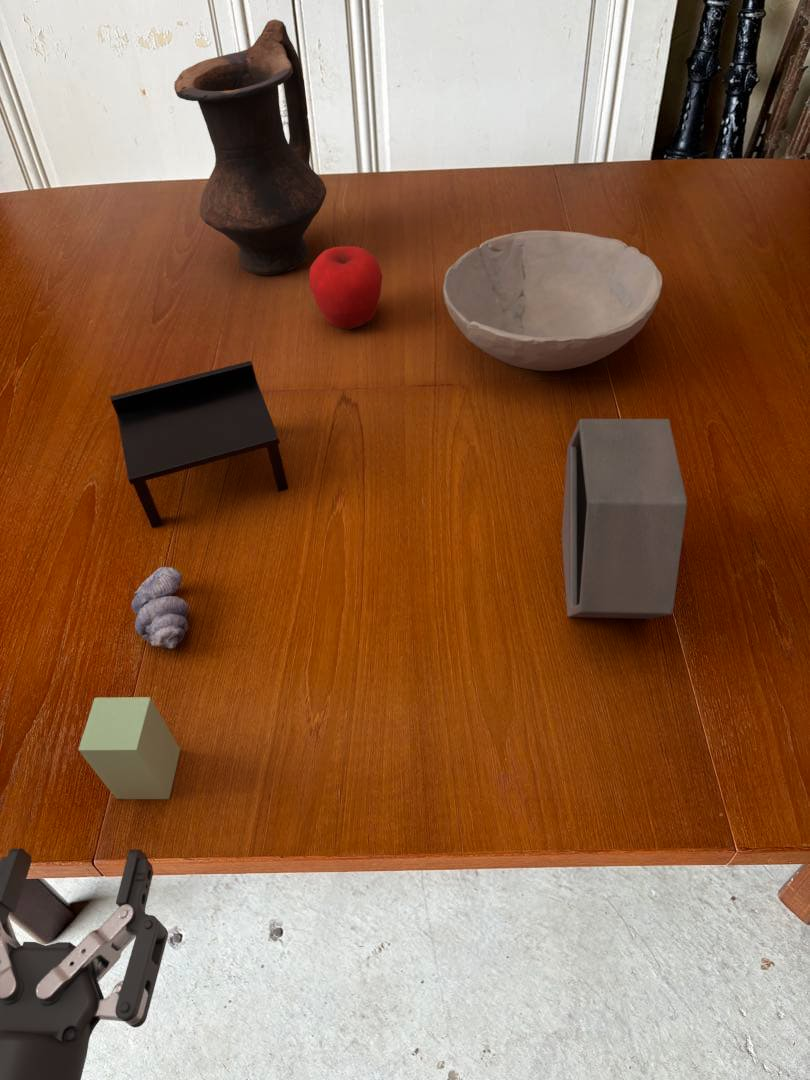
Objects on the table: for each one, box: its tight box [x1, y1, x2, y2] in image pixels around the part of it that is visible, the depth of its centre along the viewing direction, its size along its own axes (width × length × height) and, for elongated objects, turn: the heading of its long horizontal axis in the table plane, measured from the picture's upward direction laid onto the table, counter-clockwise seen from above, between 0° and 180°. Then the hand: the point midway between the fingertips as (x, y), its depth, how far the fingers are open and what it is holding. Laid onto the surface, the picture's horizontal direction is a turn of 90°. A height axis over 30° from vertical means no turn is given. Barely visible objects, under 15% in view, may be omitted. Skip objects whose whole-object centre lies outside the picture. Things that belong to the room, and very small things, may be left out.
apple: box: [308, 245, 383, 330], centre depth 110 cm, size 10×10×11 cm
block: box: [78, 696, 181, 800], centre depth 67 cm, size 5×5×9 cm
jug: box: [173, 18, 327, 276], centre depth 115 cm, size 21×18×30 cm
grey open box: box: [561, 418, 688, 620], centre depth 74 cm, size 17×8×21 cm
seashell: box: [131, 566, 190, 650], centre depth 79 cm, size 5×5×10 cm
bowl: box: [442, 229, 663, 372], centre depth 104 cm, size 26×26×10 cm
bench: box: [109, 360, 289, 529], centre depth 91 cm, size 16×12×10 cm
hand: (80, 852), depth 57 cm, fingers open, 8 cm apart
